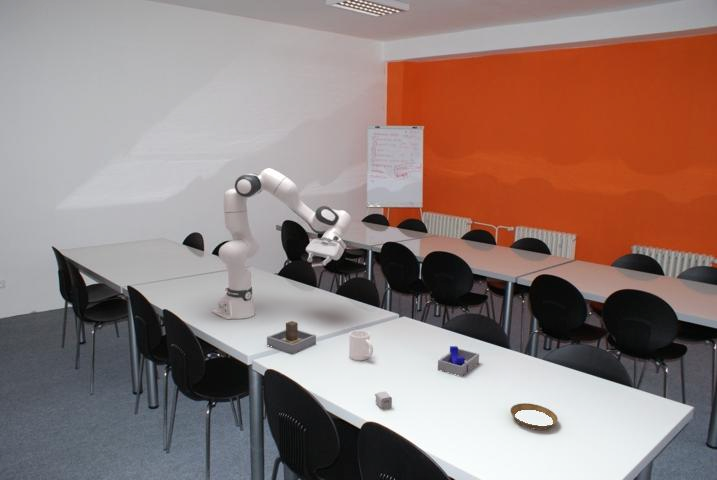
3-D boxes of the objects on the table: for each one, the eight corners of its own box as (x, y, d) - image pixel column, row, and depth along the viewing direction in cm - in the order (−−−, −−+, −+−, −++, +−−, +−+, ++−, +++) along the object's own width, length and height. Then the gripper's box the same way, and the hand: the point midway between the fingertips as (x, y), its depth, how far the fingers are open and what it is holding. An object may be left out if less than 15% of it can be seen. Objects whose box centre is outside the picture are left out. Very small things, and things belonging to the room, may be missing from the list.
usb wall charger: (380, 409, 181) (381, 398, 180) (372, 400, 187) (372, 389, 186) (391, 407, 182) (392, 396, 182) (382, 398, 188) (383, 387, 188)
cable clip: (467, 372, 211) (468, 358, 210) (456, 372, 211) (457, 358, 210) (459, 359, 223) (460, 346, 222) (448, 359, 223) (450, 346, 221)
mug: (379, 360, 221) (380, 336, 219) (364, 365, 215) (365, 341, 213) (359, 351, 229) (360, 328, 227) (345, 356, 224) (345, 333, 222)
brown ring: (545, 410, 184) (546, 403, 183) (564, 433, 169) (565, 425, 169) (503, 410, 183) (504, 403, 182) (518, 433, 168) (519, 425, 168)
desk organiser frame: (437, 369, 213) (438, 360, 212) (455, 356, 226) (456, 347, 226) (461, 376, 207) (461, 367, 206) (478, 363, 221) (479, 354, 220)
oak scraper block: (281, 342, 234) (281, 322, 233) (292, 339, 239) (292, 319, 237) (291, 346, 231) (291, 326, 229) (301, 342, 235) (301, 322, 233)
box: (267, 345, 233) (266, 336, 232) (290, 336, 245) (290, 327, 244) (292, 354, 224) (292, 345, 224) (315, 343, 237) (315, 335, 236)
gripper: (312, 233, 263) (297, 255, 258) (343, 239, 250) (328, 262, 245) (318, 241, 267) (304, 263, 262) (349, 247, 254) (334, 270, 249)
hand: (315, 263), depth 253 cm, fingers open, 8 cm apart
